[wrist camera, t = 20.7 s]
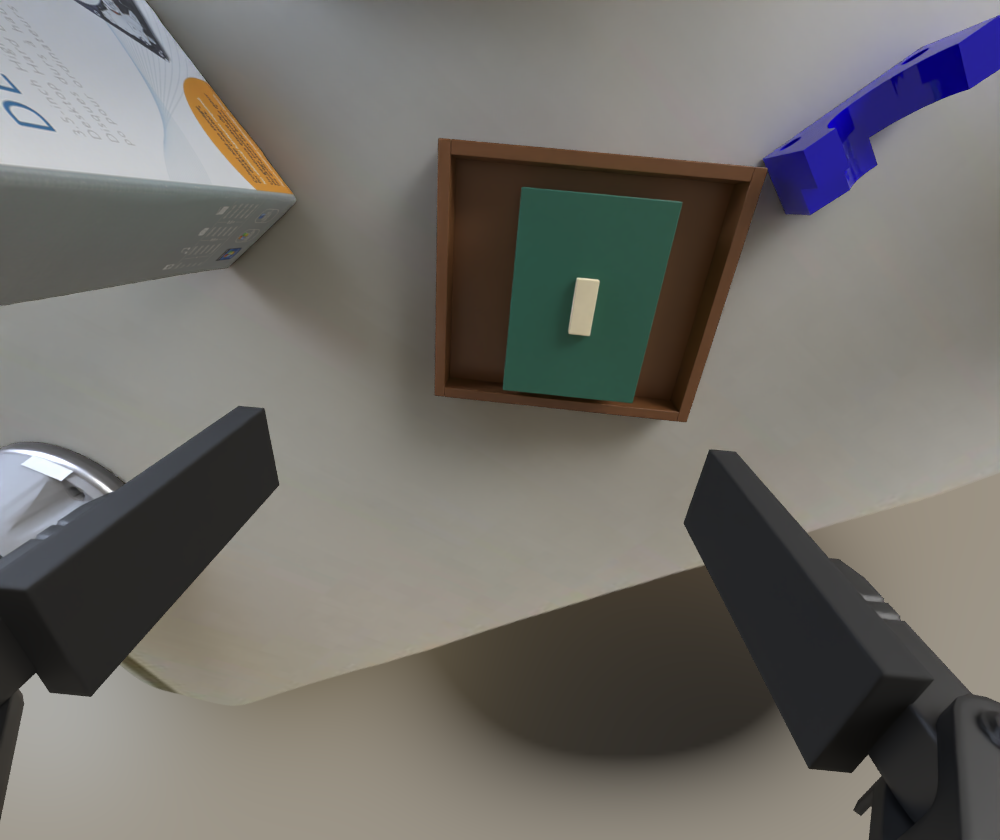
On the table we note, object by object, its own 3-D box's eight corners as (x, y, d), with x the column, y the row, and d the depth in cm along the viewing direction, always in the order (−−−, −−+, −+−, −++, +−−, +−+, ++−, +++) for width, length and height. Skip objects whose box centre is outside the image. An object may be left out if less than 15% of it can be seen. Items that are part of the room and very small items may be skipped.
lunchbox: (501, 393, 25) (634, 407, 25) (521, 186, 20) (686, 201, 20) (506, 365, 30) (619, 377, 30) (523, 190, 25) (658, 202, 25)
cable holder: (785, 214, 25) (828, 215, 21) (762, 158, 24) (803, 150, 20) (938, 114, 22) (1015, 97, 19) (920, 47, 21) (999, 14, 18)
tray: (441, 382, 31) (434, 395, 29) (446, 144, 25) (438, 137, 22) (675, 407, 31) (686, 422, 29) (747, 171, 24) (768, 167, 22)
